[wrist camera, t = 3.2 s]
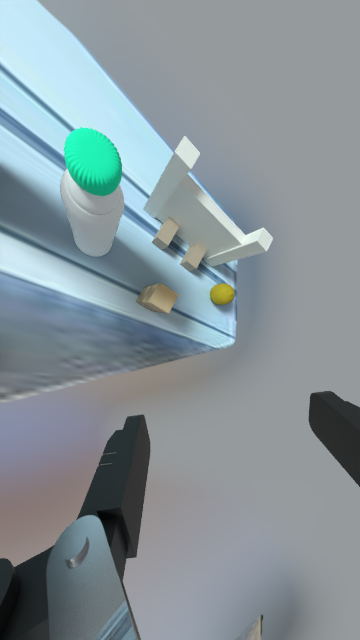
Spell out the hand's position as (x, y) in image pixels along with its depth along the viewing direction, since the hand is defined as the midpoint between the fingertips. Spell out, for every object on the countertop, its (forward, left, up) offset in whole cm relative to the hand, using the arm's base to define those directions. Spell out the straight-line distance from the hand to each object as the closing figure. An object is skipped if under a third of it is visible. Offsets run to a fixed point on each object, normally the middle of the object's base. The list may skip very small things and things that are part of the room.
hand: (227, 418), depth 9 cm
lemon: (+26, -6, -37) cm, 46 cm away
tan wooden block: (+8, +2, -37) cm, 38 cm away
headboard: (+22, +10, -37) cm, 44 cm away
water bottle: (+5, +18, -37) cm, 42 cm away
